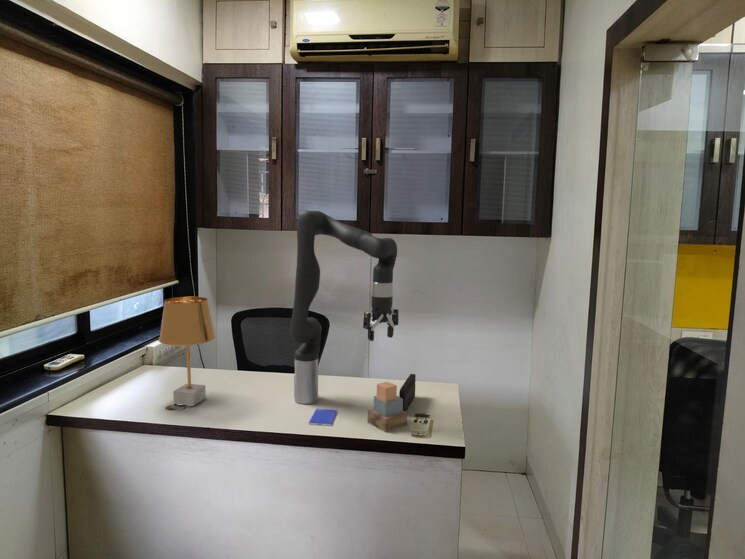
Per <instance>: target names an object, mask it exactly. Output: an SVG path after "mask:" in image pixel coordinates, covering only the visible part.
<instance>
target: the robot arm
mask: <svg viewBox="0 0 745 559" xmlns="http://www.w3.org/2000/svg"><path fill="white" fill-rule="evenodd" d="M319 235H323V236H329V237H333V238H336V239H337V240H338V241H340V242H342V243H343V244H344V245H345V246H346V245H347V246H348V247H351V248H353V249H357V250H359V251H361V252H364V253H365V254H367V255H368V256H370V257H372V258H375V259H378V262H377V264H376V265H375V266H374V267H373V270H372V274H373V275H372V285H371V303H370V304H371V311H364V313H363V322H362V323H363V324H362V328H363V329H366V330H367V339H368V340H369V341H371V342H374V340H375V331H374V330H375V328H376V327H377V326H378V325H380V324H382V323H386V325H387V332H386V334H387V335H386V336H387V338H390V339H391V338H392V339H393V336H394V329H395V327H396V326H398V325H399V309H397V308H395V307H393V300H394V299H393V298H394V285H393V284H394V282H393V280H394V279H393V278H394V268H395V264H396V261H397V256H398V246H397V243H396V241H395V240H394V239H393V238H391V237H383V238H380V237H376V236H374V235H373V234H372V233H370V232H369V231H366V230H363V229H361V228H357V227H355V226H351V225H349V224H346V223H343V222H341V221H339V220H337V219H335V218H333V217H332V216H330V215H327V214H326V213H324V212H322V211H320V210H304V211H302V212H301V213H300V214H298V216H297V219H296V242H297V243H296V244H297V245H296V246H297V247H296V250H297V252H296V269H295V279H294V280H295V281H294V282H295V283H294V286H295V287H294V299H293V308H292V314H291V320H290V325H289V326H290V328H289V333H290V337H291V339H292V341H293V342H294V343H295V344H299V345H300V346H299V348H297V349H296V350H295V352H294V375H293V388H294V389H293V390H294V391H293V392H294V394H293V398H294V402H296V403H297V404H301V405H310V404H314V403H316V402H318V401H319V353H320V350H321V340H322V339H321V337H322V331H321V330H322V329H321V324H320V322H319V320H318V319H317V318H315V317H312V316H310V317H308V316H309V310H310V307H311V305H312V302H313V300H314V299H315V298H316V295H317V293H318V291H319V288H320V282H321V281H320V280H321V267H320V264H319V260H318V259H317V256H316V253H315V252H316V251H315V238H316V237H315V236H319Z"/></svg>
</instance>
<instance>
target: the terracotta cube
mask: <svg viewBox="0 0 745 559" xmlns="http://www.w3.org/2000/svg"><path fill="white" fill-rule="evenodd" d="M397 387H398V386H397V385H396V384H394V383H392V382H390V381H384V382H381V383H377V384H376V396H377V398H378V399H380V400H382V401H384V402H388V401H391V400H395V399H396V396H398V395H397V392H398V391H397Z"/></svg>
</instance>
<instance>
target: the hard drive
mask: <svg viewBox="0 0 745 559" xmlns="http://www.w3.org/2000/svg"><path fill="white" fill-rule="evenodd" d="M337 413H338V410H337V409H329V408H327V409H326V408H316V409H315V410H314V411H313V413H312V415H311V418H310V419H309V422H308V425H309V424H310V426H324V425H325V426H328V427H332V425H333V424H334V420H335V418H336V416H337ZM325 426H324V427H325Z"/></svg>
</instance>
